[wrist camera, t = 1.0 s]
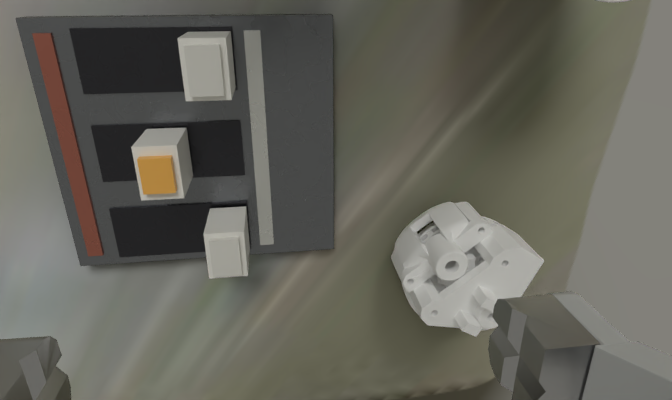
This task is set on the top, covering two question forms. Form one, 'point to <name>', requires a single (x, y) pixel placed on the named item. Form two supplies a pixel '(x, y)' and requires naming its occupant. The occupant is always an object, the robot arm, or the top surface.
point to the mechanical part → (461, 266)
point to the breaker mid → (163, 163)
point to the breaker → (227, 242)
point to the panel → (202, 128)
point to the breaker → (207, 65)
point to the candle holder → (613, 1)
